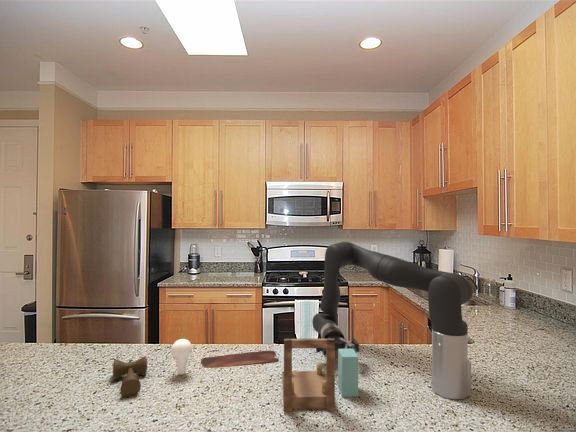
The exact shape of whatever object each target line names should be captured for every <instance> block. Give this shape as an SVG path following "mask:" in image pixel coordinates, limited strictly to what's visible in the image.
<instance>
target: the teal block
mask: <svg viewBox="0 0 576 432" xmlns="http://www.w3.org/2000/svg"><path fill="white" fill-rule="evenodd" d="M337 388H338V389H339V393H340V395H341V398H357V397H356V396H358V397H359V356H358V354H357V352H355V351H354V349H338V351H337ZM352 396H353V397H352ZM354 396H355V397H354Z"/></svg>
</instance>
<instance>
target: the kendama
mask: <svg viewBox="0 0 576 432" xmlns="http://www.w3.org/2000/svg"><path fill="white" fill-rule="evenodd" d="M147 372H148V359H147V356H146V355H145V356H142V357H141V358H139V359H137V360H134V361H132V359H128V362H124V361H122V360H120V359H116V358H115V359H114V360H113V366H112V379H113V381H114V382H116V381H117V380H119V379H120V378H122V377H123V378H122V379H121V385H120V387H119V389H120V394H121V396H122V397H124V398H125V397H126V398H128V397H129V398H130V397H133V396H136V395H138V394H139V393H140V391H141V386H142V383H141V382H140V376H139V375H141V376H146V375H147Z"/></svg>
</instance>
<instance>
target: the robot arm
mask: <svg viewBox="0 0 576 432" xmlns="http://www.w3.org/2000/svg"><path fill="white" fill-rule="evenodd" d="M324 254H325V255H324V269H323V270H324V272H323V273H324V276H323V277H324V278H323V291H322V296H321V301H320V304H319V305H320V306H319V307H320V310H321V311H322V312H323V313H321V312H320V313H316V314H314V315H313V318H312V321H311V323H312V327H313V330H314V331H315V332H316V333H317V334H318V335H320V337H321V338H320V339H330V338H334V339H335V352H338V349H354V351H355V352H356V353H359V352H360V343H359V342H358V341H357V340H356V338H351V340H348V339H346V338H345V335H344V333H343V332H342V331H341V329H340V328H339V320H338V319H339V318H338V309H339V304H340V300H341V289H340V286H339V282H338V274H339V272H340V269H341V268H343V267H347V266H351V265H352V266H356V267H359V268H362V269H364V270H366V271H367V272H368V273H369V275H370V276H371V277H373V278H374V279H375V280H377V281H379V282H382V283H384V284H387V285H390V286H394V287H398V288H405V289H413V290H419V291H424V292H427V297H428V298H427V301H428V317H429V320H430V322H431V389H432V391H433V392H434V394H437V395H438V396H440V397H442V398H445V399H449V400H464V399H466V398H468V397H472V362H471V361H470V360H469V359H468V358H469V357H468V356H469V354H468V353H469V350H468V347H469V346H468V344H469V343H468V340H469V339H468V338H469V337H468V336H469V335H468V332H469V331H468V329H469V328H468V323H467V322H466V321H465V320H463V314H462V306H463V305H465V304H466V303H468V302H469V301H470V300H471V299H472V297H473V293H474V289H473V287H472V284H471V283H470V281H469V280H468V279H467V278H465V276H463V275H461V274H458V273H453V272H447V271H442V270H437V269H432V268H428V267H424V266H422V265H420V264H417V263H414V262H411V261H408V260H405V259H402V258H399V257H396V256H392V255H389V254H385V253H381V252H377V251H373V250H369V249H367V248H364V247H363V246H362V247H361V246H360V245H357V244H354V243H352V242H350V241H341V242H335V243H332V244H329V245H328V246H327V248H326V250H325V253H324ZM315 351H316V353H320V352H321V353H322V354H323V356H325V357H326V348H315Z"/></svg>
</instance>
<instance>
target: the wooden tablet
mask: <svg viewBox="0 0 576 432" xmlns="http://www.w3.org/2000/svg"><path fill="white" fill-rule="evenodd" d="M279 361H280V360H279V359H278V358H277V352H276V351H275V350H261V351H260V350H259V351H247V352H240V353H231V354H224V355H215V356H208V357H203V358H201V359H200V364H201V366H202V367H203V368H205V369H211V368H212V369H217V368H230V367H237V366H238V367H239V366H246V365H247V366H248V365H259V364H271V363H272V364H273V363H278V362H279Z"/></svg>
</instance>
